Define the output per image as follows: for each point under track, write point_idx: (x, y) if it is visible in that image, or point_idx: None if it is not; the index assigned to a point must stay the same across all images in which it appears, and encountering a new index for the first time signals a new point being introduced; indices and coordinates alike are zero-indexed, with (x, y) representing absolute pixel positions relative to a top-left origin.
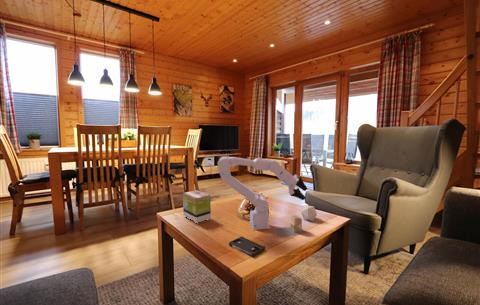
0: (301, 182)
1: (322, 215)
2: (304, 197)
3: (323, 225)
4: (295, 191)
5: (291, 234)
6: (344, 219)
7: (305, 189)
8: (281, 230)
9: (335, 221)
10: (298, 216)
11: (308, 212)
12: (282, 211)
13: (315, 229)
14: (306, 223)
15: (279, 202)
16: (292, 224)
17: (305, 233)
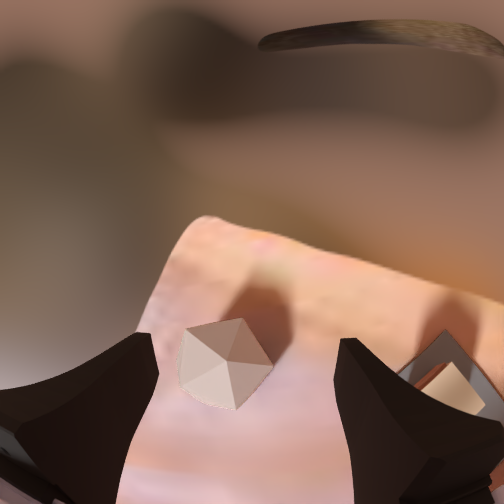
0: (77, 411)
1: (174, 310)
2: (366, 349)
3: (291, 285)
4: (472, 482)
5: (490, 400)
6: (196, 224)
7: (150, 360)
8: None
9: (225, 248)
10: (429, 393)
11: (248, 360)
12: (177, 495)
13: (362, 310)
14: (298, 371)
15: None
16: None
17: (449, 339)
